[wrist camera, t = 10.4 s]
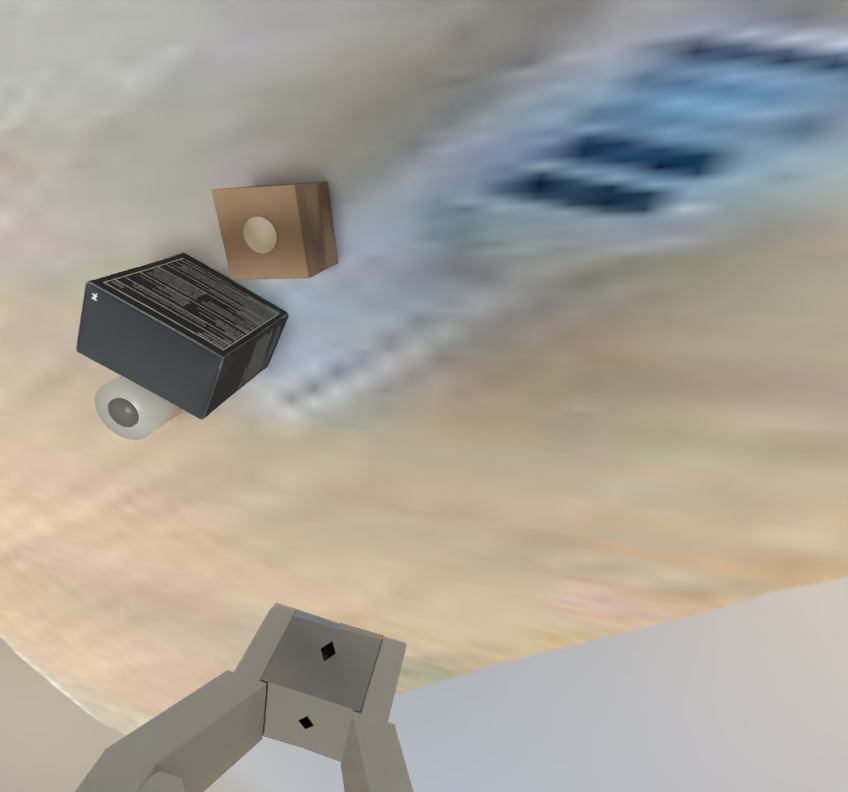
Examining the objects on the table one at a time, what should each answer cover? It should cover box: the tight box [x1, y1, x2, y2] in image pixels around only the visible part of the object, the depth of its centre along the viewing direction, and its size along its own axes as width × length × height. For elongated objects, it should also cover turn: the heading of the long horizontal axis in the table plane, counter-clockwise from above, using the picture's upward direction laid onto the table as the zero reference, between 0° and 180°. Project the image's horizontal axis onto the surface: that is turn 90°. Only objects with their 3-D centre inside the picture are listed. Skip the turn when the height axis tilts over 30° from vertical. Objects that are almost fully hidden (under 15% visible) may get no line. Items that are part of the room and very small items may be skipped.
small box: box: [76, 253, 288, 419], centre depth 38 cm, size 11×6×10 cm, turn 61°
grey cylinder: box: [95, 376, 183, 440], centre depth 45 cm, size 6×6×6 cm
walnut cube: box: [212, 182, 338, 279], centre depth 36 cm, size 6×6×6 cm
